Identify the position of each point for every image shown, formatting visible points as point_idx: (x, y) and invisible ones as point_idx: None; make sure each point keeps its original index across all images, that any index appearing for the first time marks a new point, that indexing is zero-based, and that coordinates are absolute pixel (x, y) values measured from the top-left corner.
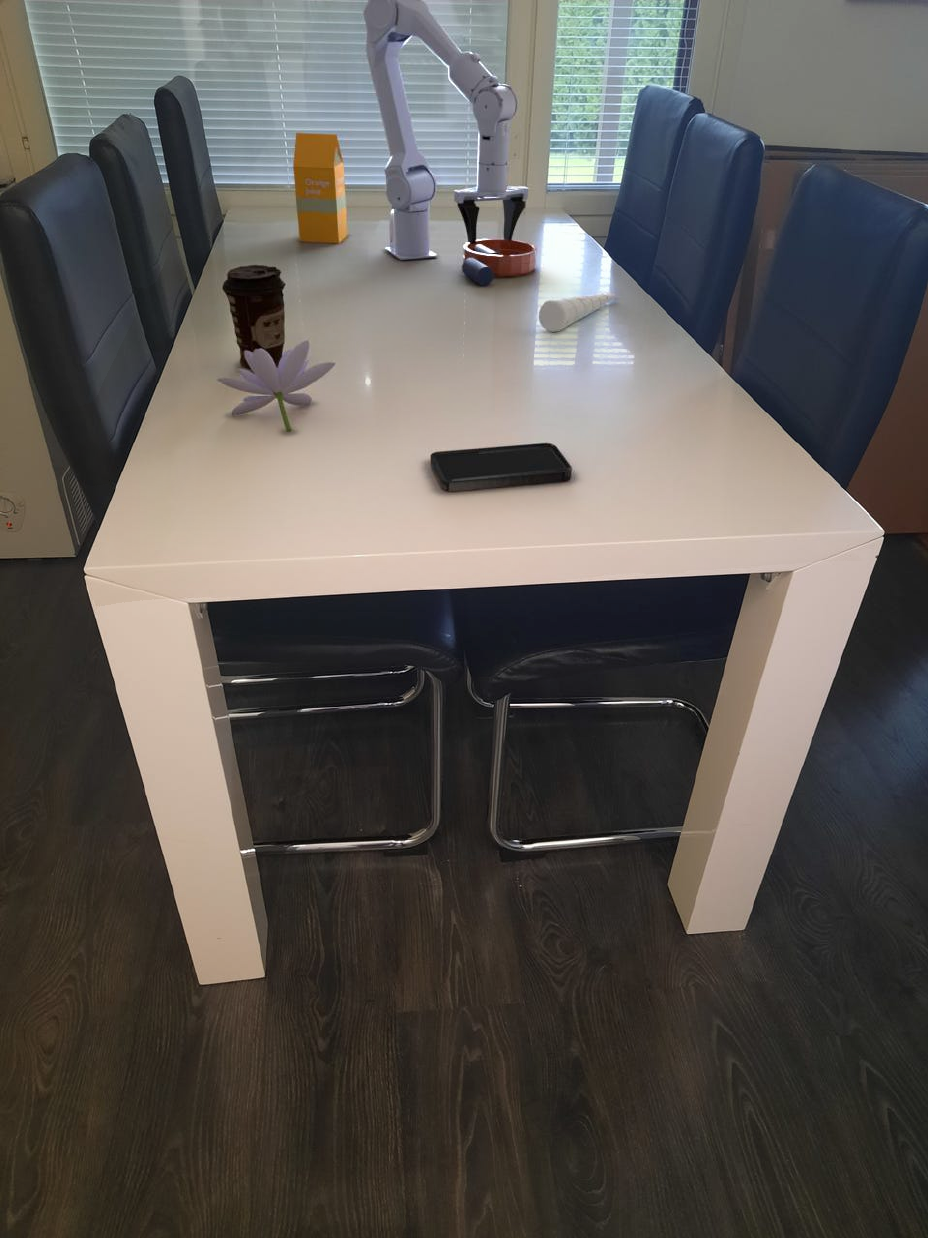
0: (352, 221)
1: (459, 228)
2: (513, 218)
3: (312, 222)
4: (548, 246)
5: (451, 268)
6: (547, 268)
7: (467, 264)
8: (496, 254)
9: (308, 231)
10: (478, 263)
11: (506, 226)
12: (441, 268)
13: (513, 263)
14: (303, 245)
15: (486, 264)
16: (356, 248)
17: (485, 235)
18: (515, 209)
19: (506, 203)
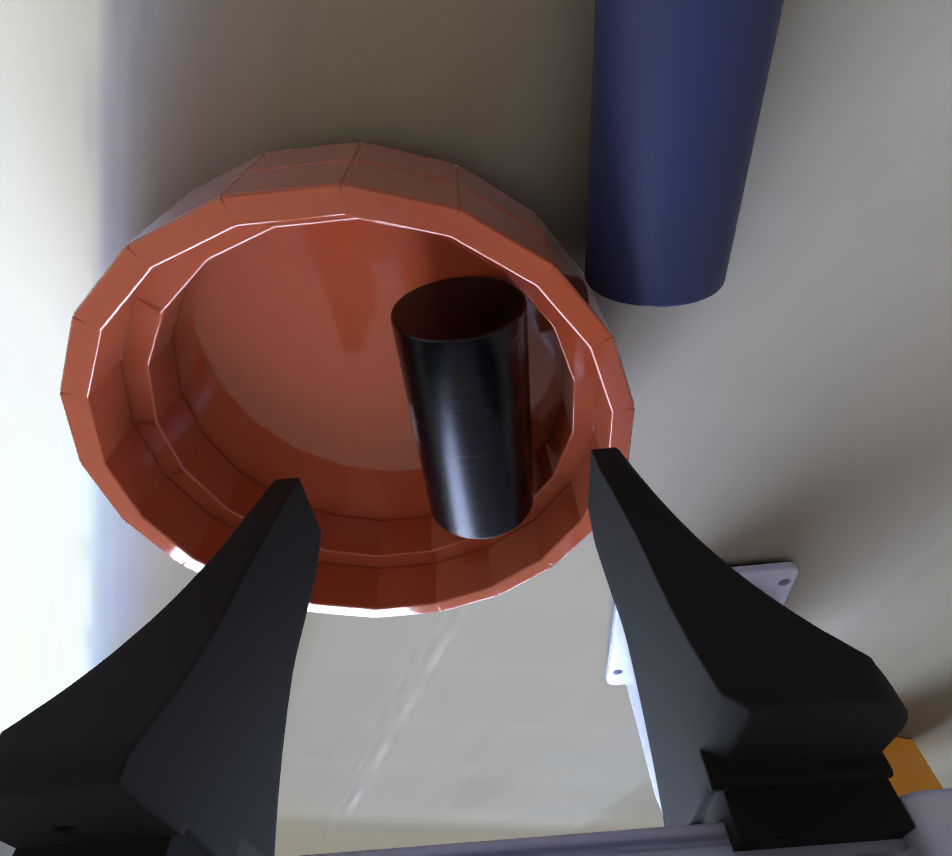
0: (652, 826)
1: (384, 787)
2: (209, 616)
3: None
4: (59, 643)
5: (646, 428)
6: (43, 323)
7: (738, 209)
8: (438, 332)
9: (912, 767)
10: (719, 91)
11: (289, 594)
12: (695, 437)
13: (322, 164)
14: (941, 714)
15: (548, 239)
16: None
17: (316, 744)
18: (151, 698)
19: (245, 815)
